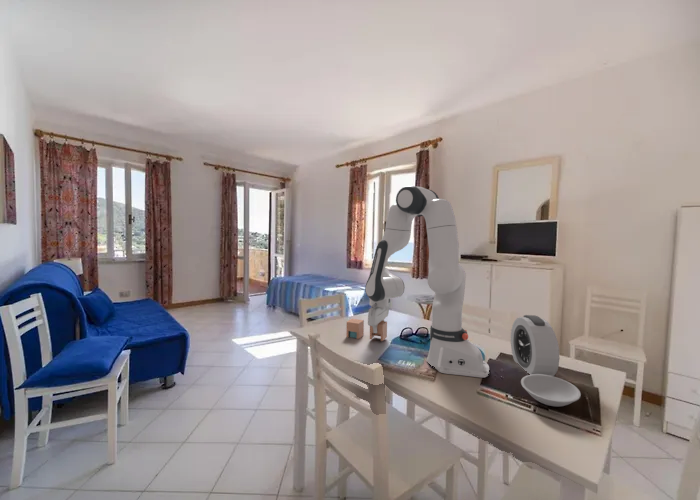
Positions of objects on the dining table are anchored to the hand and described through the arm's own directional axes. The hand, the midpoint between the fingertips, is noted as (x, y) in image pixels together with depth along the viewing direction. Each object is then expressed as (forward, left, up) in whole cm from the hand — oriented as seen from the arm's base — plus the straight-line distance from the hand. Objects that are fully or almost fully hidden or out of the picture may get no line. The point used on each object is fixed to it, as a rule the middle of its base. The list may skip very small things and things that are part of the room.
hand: (378, 330), depth 137 cm
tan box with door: (+12, 0, -5) cm, 13 cm away
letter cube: (+12, 0, -5) cm, 13 cm away
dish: (-63, +28, -5) cm, 69 cm away
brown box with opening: (0, 0, -4) cm, 4 cm away
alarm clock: (-62, +3, -5) cm, 62 cm away
